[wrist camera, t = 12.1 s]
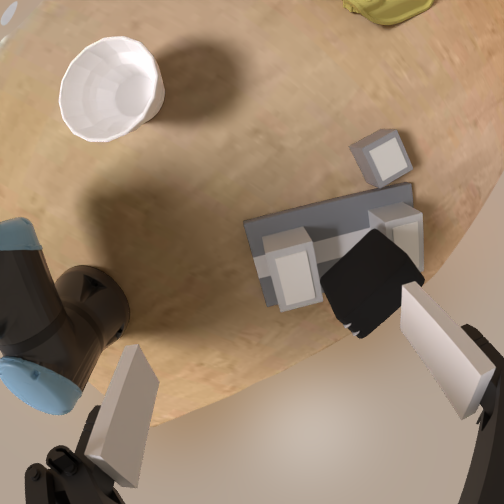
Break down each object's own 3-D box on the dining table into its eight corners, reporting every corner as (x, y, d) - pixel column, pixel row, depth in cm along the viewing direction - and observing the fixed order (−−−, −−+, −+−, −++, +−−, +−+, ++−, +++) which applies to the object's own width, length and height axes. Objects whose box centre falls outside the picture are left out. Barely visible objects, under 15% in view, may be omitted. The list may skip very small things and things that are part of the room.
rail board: (266, 302, 49) (270, 330, 42) (243, 220, 44) (243, 239, 36) (412, 261, 47) (434, 282, 40) (406, 181, 42) (433, 192, 35)
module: (365, 182, 42) (380, 188, 37) (348, 146, 40) (361, 148, 35) (396, 164, 41) (414, 169, 36) (380, 128, 39) (397, 129, 34)
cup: (157, 40, 33) (132, 15, 23) (194, 110, 37) (177, 103, 27) (86, 87, 35) (45, 79, 24) (119, 154, 39) (83, 164, 29)
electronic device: (390, 247, 38) (427, 281, 28) (336, 297, 40) (360, 342, 31) (373, 226, 36) (410, 256, 27) (317, 279, 39) (338, 322, 30)
